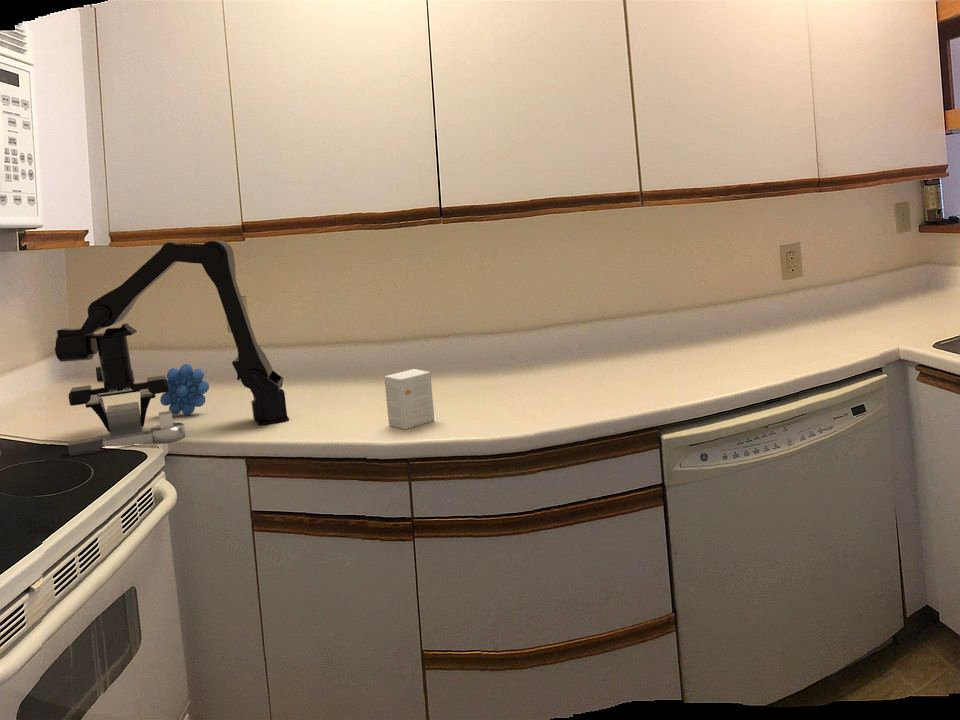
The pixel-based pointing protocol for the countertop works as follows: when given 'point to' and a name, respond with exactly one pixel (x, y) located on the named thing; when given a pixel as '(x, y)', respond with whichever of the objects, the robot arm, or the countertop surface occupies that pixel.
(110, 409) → the grey rounded cube
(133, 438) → the ratchet
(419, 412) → the small box
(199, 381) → the grapes
